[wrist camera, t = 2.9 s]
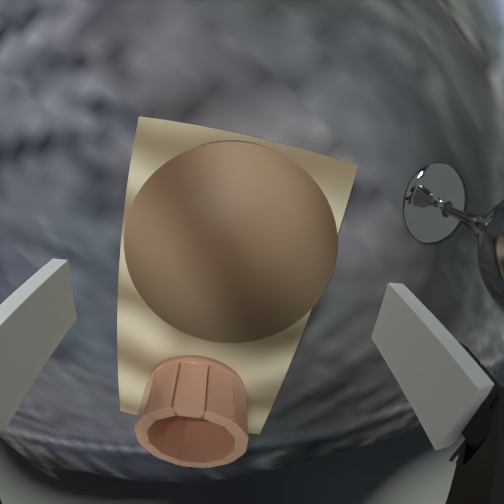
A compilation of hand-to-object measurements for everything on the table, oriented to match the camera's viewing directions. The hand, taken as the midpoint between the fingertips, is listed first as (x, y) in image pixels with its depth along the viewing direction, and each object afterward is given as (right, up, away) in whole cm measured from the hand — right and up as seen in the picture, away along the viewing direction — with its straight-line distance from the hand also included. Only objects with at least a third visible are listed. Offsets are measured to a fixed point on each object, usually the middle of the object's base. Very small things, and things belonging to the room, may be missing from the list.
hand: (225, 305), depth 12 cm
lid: (0, +3, +7) cm, 7 cm away
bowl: (-4, -11, +15) cm, 19 cm away
